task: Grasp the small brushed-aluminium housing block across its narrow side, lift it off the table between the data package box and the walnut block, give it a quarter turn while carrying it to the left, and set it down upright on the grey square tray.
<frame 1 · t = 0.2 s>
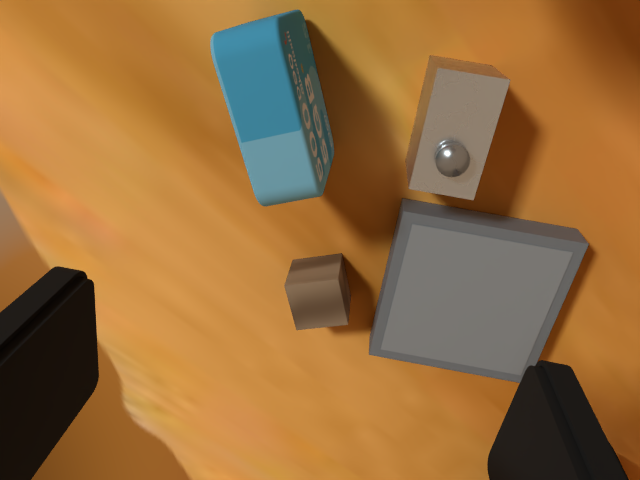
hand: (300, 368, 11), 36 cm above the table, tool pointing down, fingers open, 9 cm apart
walnut block: (322, 277, 52), on the table
data package: (295, 89, 44), on the table
grey square tray: (465, 286, 50), on the table
housing: (446, 115, 43), on the table
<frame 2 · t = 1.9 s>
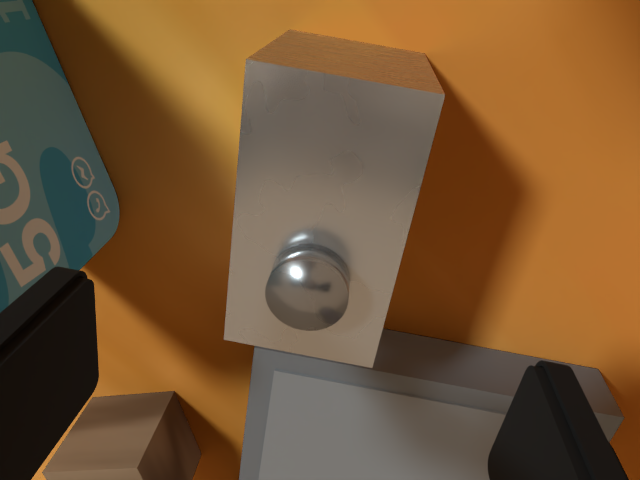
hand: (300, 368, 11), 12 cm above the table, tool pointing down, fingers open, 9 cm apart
walnut block: (148, 425, 30), on the table
data package: (28, 99, 21), on the table
grey square tray: (395, 450, 28), on the table
housing: (336, 156, 21), on the table
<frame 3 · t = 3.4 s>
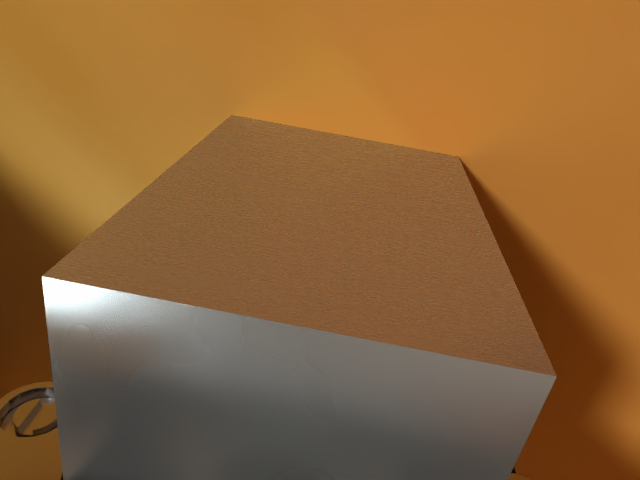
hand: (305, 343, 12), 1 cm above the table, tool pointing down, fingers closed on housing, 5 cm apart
housing: (313, 306, 13), on the table, touching gripper
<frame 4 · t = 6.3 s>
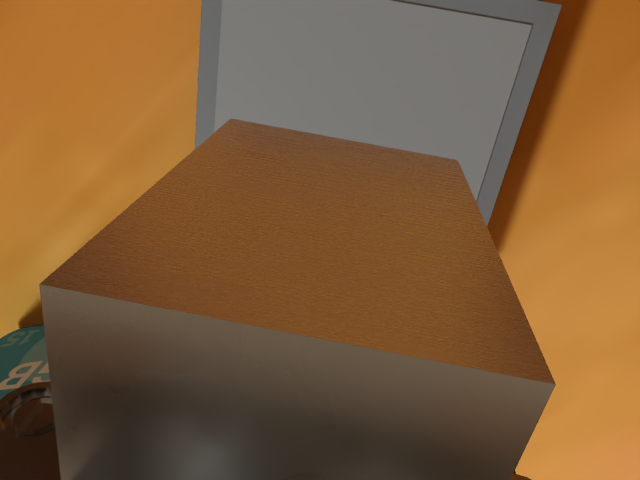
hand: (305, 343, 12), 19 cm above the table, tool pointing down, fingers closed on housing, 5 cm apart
data package: (93, 341, 38), on the table
grey square tray: (352, 132, 29), on the table
housing: (312, 309, 13), point 18 cm above the table, touching gripper
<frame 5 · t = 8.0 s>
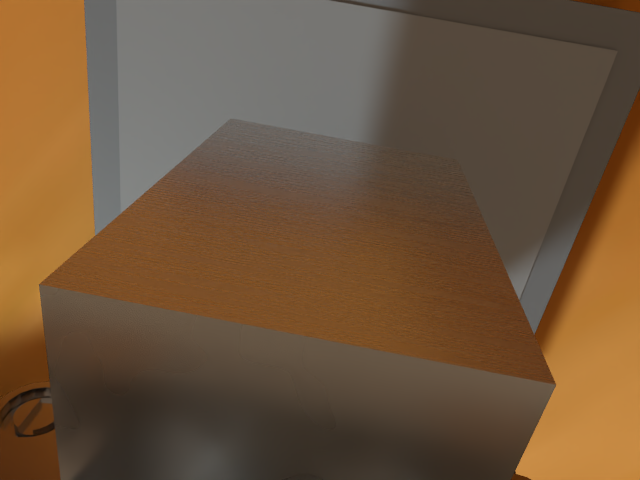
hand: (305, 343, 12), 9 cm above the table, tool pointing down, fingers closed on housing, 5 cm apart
grey square tray: (331, 198, 20), on the table
housing: (312, 309, 13), point 8 cm above the table, touching gripper
when the fingers open (5 cm above the table, at t = 9.2 s): housing stays where it is, resting on grey square tray.
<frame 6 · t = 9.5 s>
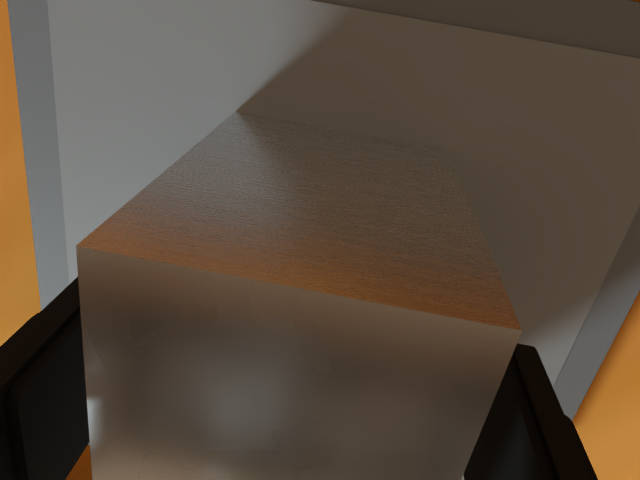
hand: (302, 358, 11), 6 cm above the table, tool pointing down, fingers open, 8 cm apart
grey square tray: (327, 240, 17), on the table
housing: (313, 292, 14), point 3 cm above the table, touching grey square tray
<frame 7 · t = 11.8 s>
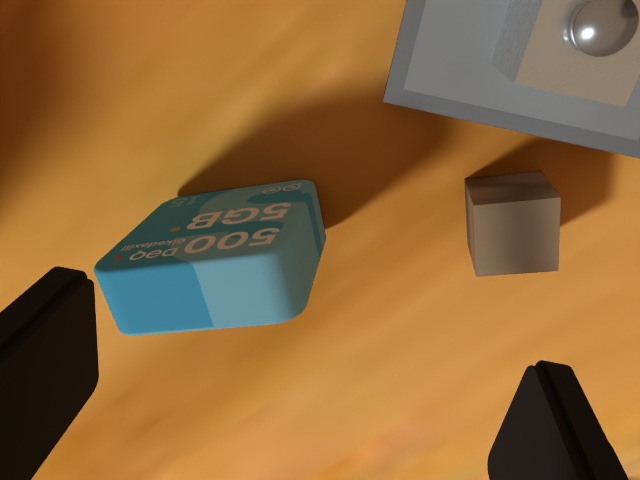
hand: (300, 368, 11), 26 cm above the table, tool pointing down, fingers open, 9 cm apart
walnut block: (502, 208, 36), on the table
data package: (248, 213, 39), on the table
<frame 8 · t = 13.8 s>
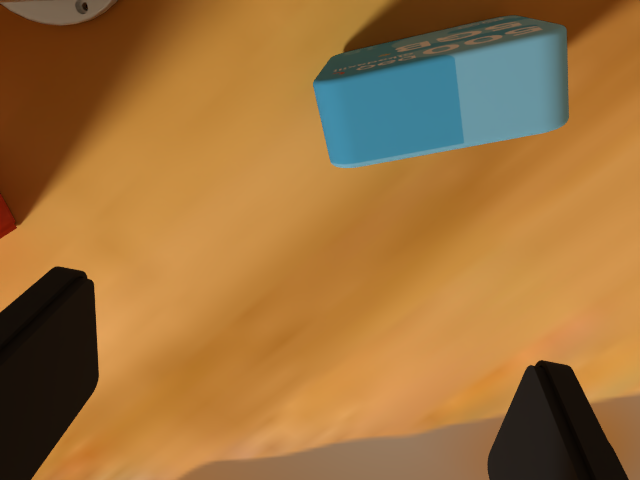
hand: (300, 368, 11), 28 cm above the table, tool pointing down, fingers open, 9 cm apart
data package: (423, 69, 35), on the table
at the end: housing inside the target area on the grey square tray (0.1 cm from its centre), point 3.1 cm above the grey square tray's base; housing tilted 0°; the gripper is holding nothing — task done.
